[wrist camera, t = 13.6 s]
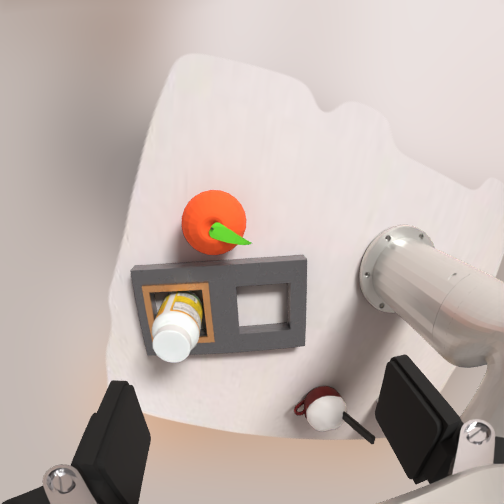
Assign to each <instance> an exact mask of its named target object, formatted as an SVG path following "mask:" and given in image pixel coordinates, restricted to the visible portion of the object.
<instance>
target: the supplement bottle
mask: <svg viewBox="0 0 504 504" xmlns="http://www.w3.org/2000/svg"><path fill="white" fill-rule="evenodd" d="M202 316H203V305H202V302H201V300H200V299H199V297H198V296H197V295H196V294H194V293H193V292H191V291H172V292H170V293H169V294H168V295H167V296H166V297H165V299H164V301H163V303H162V305H161V307H160V309H159V312H158V314H157V316H156V318H155V320H154V323H153V326H152V336H153V349H154V351H155V353H156V354H157V356H158V357H160V358H161V359H162V360H164V361H167V362H171V363H177V362H181V361H183V360H185V359H186V358H187V357H188V355H189V354H190V351H191V350H192V349H193V348H194V347H195V346H196V344H197V342H198V340H199V335H200V328H201V322H202Z"/></svg>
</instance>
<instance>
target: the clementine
mask: <svg viewBox="0 0 504 504" xmlns="http://www.w3.org/2000/svg"><path fill="white" fill-rule="evenodd" d="M245 229H246V216H245V212H244V209H243V207H242V205H241V204H240V203H239V202H238V200H237V199H236V198H235V197H233V196H232V195H230V194H229V193H226V192H223V191H219V190H209V191H205V192H202V193H200V194H198V195H196V196H195V197H193V198H192V199H191V200H190V201H189V202H188V204H187V206H186V207H185V209H184V212H183V215H182V230H183V234H184V236H185V238H186V240H187V242H188V243H189V244H190V245H191V246H192V247H193V248H194V249H196V250H197V251H199V252H201V253H204V254H208V255H219V254H224V253H226V252H228V251H230V250H232V249H233V248H234V247H235V246H237V245H249V244H251V242H249V241H247V240H246V239H244V238H242V237H243V235H244V232H245Z"/></svg>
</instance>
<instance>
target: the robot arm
mask: <svg viewBox="0 0 504 504" xmlns="http://www.w3.org/2000/svg"><path fill="white" fill-rule="evenodd" d="M385 237H386V238H385ZM365 273H366V274H365ZM359 278H360V286H361V290H362V293H363V295H364V297H365V298H366V299H367V301H368V302H369V303H370V304H371V305H372V306H373V307H374V308H376V309H377V310H379V311H382V312H386V313H397V314H398V315H399V316H400V317H401V318H403V319H404V320H405V321H406V322H407V323H408V324H409V325H410V326H411V327H412V328H413V329H414V330H415V331H416V332H417V333H418V334H419V335H420V336H421V337H422V338H424V339H425V340H426V341H427V342H428V343H429V344H430V345H431V346H432V347H433V348H434V349H435V350H436V351H437V352H438V353H439V354H440V355H441V356H442V357H443V358H444V359H445V360H447V361H448V362H449V363H451V364H453V365H455V366H458V367H465V368H471V367H478V366H482V365H487V371H486V373H485V375H484V378H483V379H482V381H481V383H480V385H479V388H478V389H477V391H476V393H475V395H474V396H473V398H472V399H471V401H470V403H469V404H468V406H467V407H466V409H465V411H464V412H463V413H462V415H461V416H460V417H459V416H458V415H457V413H456V412H455V411H454V410H453V408H452V407H451V406H450V405H449V404H448V402H447V401H446V400H445V399H444V398H443V397H442V395H441V394H440V393H439V392H438V390H437V389H436V388H435V387H434V386H433V385H432V383H431V382H430V381H429V380H428V379H427V378H426V376H425V375H424V374H423V373H422V372H421V371H420V369H419V368H418V367H417V366H416V365H415V364H414V363H413V361H412V360H411V359H410V358H409V357H408V356H407V355H401V356H397V357H393V358H391V360H390V362H388V363H387V365H386V370H385V374H384V379H383V383H382V387H381V391H380V395H379V399H378V403H377V407H376V411H375V417H376V420H377V422H378V423H379V425H380V427H381V429H382V431H383V432H384V434H385V436H386V438H387V440H388V441H389V443H390V445H391V447H392V449H393V451H394V453H395V454H396V456H397V458H398V460H399V462H400V464H401V465H402V467H403V469H404V471H405V473H406V475H407V476H408V478H409V479H413V481H414V482H415V484H418V483H421V482H423V481H425V480H428V482H429V483H430V484H429V485H427V486H425V487H422V488H419V489H417V490H414V491H411V492H409V493H406V494H403V495H400V496H398V497H395V498H392V499H389V500H386V501H383V502H380V503H376V504H504V282H503V281H501V280H499V279H496V278H495V277H493V276H491V275H489V274H487V273H485V272H483V271H481V270H479V269H477V268H475V267H473V266H471V265H469V264H467V263H465V262H463V261H461V260H459V259H456V258H454V257H452V256H450V255H448V254H446V253H444V252H442V251H440V250H437V249H435V247H434V244H433V242H432V241H431V239H430V237H429V236H428V235H427V234H426V233H425V232H424V231H422V230H421V229H419V228H416V227H414V226H410V225H397V226H394V227H391V228H389V229H387V230H385V231H383V232H382V233H381V234H379V235H378V236H377V237H376V238H375V239H374V240H373V241H372V242H371V244H370V245H369V247H368V248H367V250H366V252H365V254H364V257H363V259H362V263H361V266H360V274H359ZM150 441H151V437H150V432H149V430H148V427H147V424H146V422H145V419H144V416H143V413H142V410H141V408H140V405H139V402H138V399H137V396H136V393H135V390H134V387H133V386H132V385H129V383H128V382H127V381H114V380H113V381H111V382H110V384H109V387H108V389H107V391H106V393H105V396H104V398H103V400H102V402H101V404H100V407H99V409H98V411H97V413H94V414H93V415H92V416H91V418H90V421H89V423H88V425H87V427H86V430H85V432H84V434H83V436H82V439H81V441H80V444H79V446H78V449H77V451H76V453H75V456H74V458H73V461H72V463H71V466H69V465H63V464H61V465H56V466H53V467H52V468H50V469H49V470H48V471H46V473H45V475H44V476H43V486H41V487H39V488H37V489H34V490H32V491H29V492H27V493H24V494H22V495H19V496H17V497H14V498H11V499H9V500H7V501H5V502H3V503H2V504H138V502H139V497H140V491H141V485H142V481H143V475H144V470H145V466H146V460H147V456H148V451H149V446H150Z"/></svg>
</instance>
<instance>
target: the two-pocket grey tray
mask: <svg viewBox="0 0 504 504" xmlns="http://www.w3.org/2000/svg"><path fill="white" fill-rule="evenodd" d="M131 277H132V283H133V288H134V294H135V299H136V304H137V310H138V314H139V319H140V324H141V329H142V333H143V338H144V342H145V346H146V351H147V355H157V354H156V353H155V351H154V349H153V336H152V326H153V323H154V320H155V318H156V316H157V314H158V312H157V307H156V301H155V295H154V292H168V291H188V290H202V293H203V302H204V311H205V320H206V328H207V329H200V335H199V340H198V342H197V344H196V346H195V347H194V348H193V349H192V350H191V351H190V354H189V355H193V354H216V353H233V352H247V351H260V350H271V349H281V348H291V347H300V346H305V331H306V295H307V259H306V258H305V257H304V255H293V256H278V257H263V258H248V259H233V260H217V261H202V262H186V263H170V264H153V265H137V266H134V267H133V268H132V270H131ZM279 283H288V323H277V324H266V325H253V326H240V327H239V322H238V308H237V293H236V287H238V286H252V285H266V284H279Z"/></svg>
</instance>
